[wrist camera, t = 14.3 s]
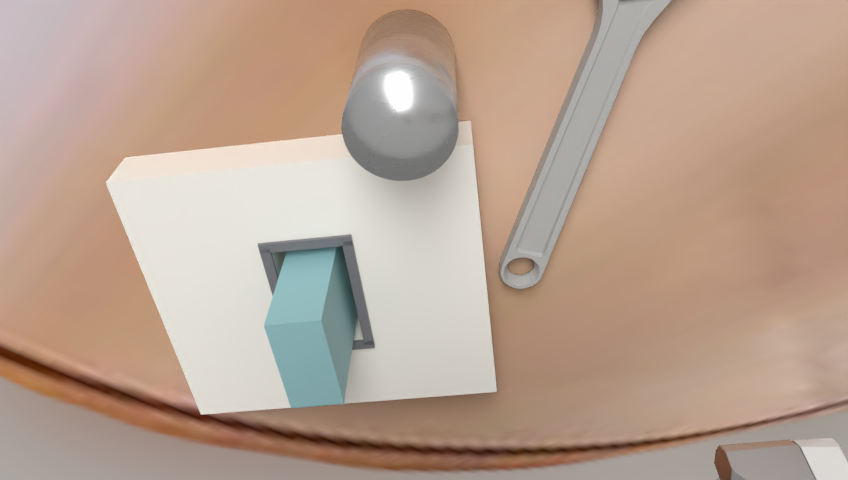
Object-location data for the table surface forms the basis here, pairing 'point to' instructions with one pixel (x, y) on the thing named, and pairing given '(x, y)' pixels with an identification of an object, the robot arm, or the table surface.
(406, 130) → the round peg
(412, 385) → the socket plate
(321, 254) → the flat bar
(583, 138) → the adjustable wrench
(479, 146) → the table surface
